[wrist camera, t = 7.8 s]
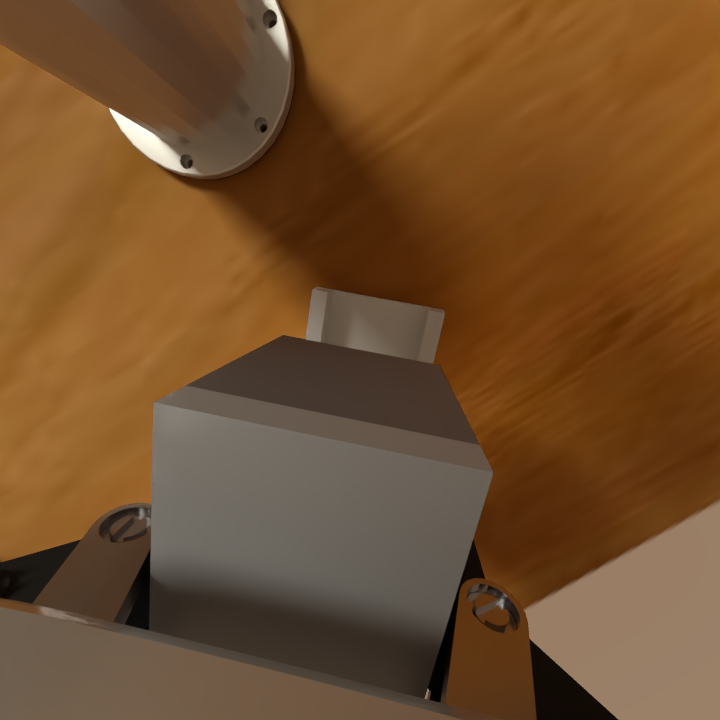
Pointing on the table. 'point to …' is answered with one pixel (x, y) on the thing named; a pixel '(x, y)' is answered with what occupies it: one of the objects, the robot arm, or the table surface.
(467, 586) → the robot arm
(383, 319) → the green toy tractor
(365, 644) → the gray rectangular block
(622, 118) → the table surface
